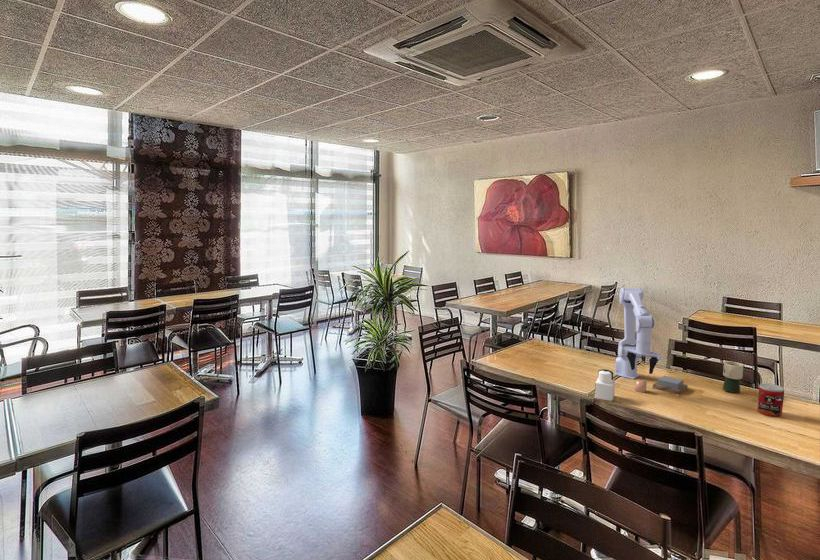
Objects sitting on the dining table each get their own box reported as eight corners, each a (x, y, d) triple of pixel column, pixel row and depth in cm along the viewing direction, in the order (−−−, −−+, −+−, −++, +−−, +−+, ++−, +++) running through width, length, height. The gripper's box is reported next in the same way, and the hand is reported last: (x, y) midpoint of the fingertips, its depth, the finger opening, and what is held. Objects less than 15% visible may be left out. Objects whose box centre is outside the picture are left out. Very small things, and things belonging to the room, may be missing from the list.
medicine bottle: (596, 392, 197) (598, 367, 196) (614, 395, 194) (615, 369, 192) (594, 398, 191) (595, 371, 190) (612, 401, 188) (613, 374, 186)
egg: (633, 390, 199) (634, 381, 199) (637, 388, 202) (637, 379, 202) (643, 393, 196) (644, 383, 196) (647, 391, 199) (648, 381, 198)
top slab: (657, 384, 202) (658, 379, 202) (663, 380, 207) (664, 375, 207) (677, 389, 196) (677, 384, 196) (683, 385, 201) (683, 379, 201)
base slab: (652, 389, 202) (652, 384, 202) (661, 383, 210) (661, 378, 209) (679, 396, 194) (679, 391, 194) (687, 390, 202) (687, 384, 201)
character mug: (725, 386, 204) (728, 359, 203) (744, 390, 199) (747, 362, 197) (717, 392, 197) (720, 364, 196) (736, 396, 192) (739, 367, 190)
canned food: (755, 413, 175) (757, 386, 173) (758, 407, 180) (761, 381, 179) (780, 419, 169) (783, 392, 168) (782, 413, 175) (785, 386, 174)
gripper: (623, 340, 199) (621, 369, 201) (658, 346, 188) (656, 377, 190) (629, 337, 204) (627, 366, 205) (663, 343, 193) (661, 373, 195)
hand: (641, 371), depth 198 cm, fingers open, 7 cm apart
